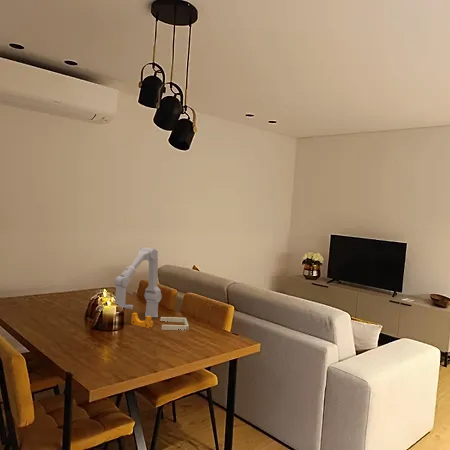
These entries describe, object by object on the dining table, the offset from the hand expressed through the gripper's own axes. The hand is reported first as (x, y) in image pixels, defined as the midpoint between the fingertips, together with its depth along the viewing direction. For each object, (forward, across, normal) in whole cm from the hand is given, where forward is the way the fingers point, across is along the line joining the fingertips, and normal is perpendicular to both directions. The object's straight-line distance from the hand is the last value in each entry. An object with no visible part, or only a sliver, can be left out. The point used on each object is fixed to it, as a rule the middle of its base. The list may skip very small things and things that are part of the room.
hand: (118, 320), depth 245 cm
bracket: (+2, +31, 0) cm, 31 cm away
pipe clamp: (+2, +13, -1) cm, 13 cm away
